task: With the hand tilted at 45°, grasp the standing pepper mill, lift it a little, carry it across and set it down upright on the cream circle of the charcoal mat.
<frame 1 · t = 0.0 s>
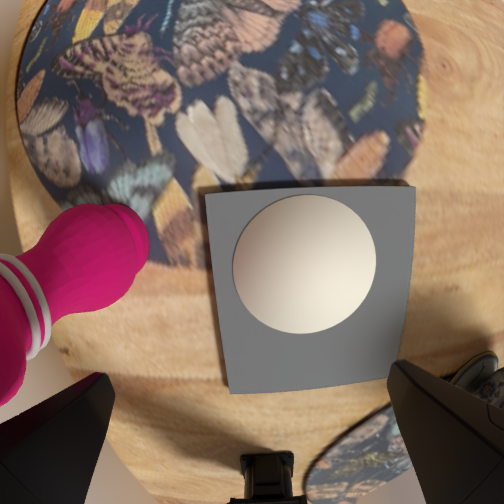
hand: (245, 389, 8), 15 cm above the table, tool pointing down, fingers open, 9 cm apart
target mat: (317, 300, 23), on the table
pepper mill: (116, 240, 22), on the table
apothecary jar: (469, 381, 27), on the table
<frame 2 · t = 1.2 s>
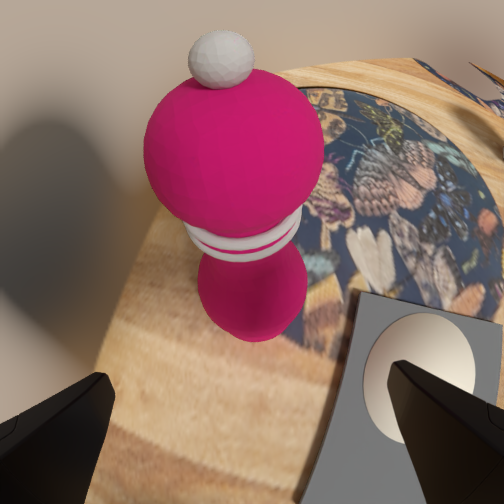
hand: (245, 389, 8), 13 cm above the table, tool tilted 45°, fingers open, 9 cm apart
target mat: (423, 415, 17), on the table
pepper mill: (255, 305, 23), on the table
when the fingers open (11 cm above the table, at t = 7.1 s): pepper mill stays where it is, resting on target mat.
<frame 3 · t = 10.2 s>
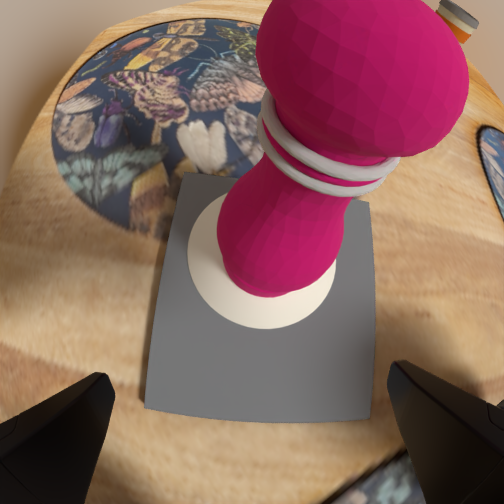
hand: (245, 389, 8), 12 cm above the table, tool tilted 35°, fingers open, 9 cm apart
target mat: (273, 296, 21), on the table
pepper mill: (265, 256, 21), point 1 cm above the table, touching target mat
reusable coffee cup: (440, 43, 52), on the table
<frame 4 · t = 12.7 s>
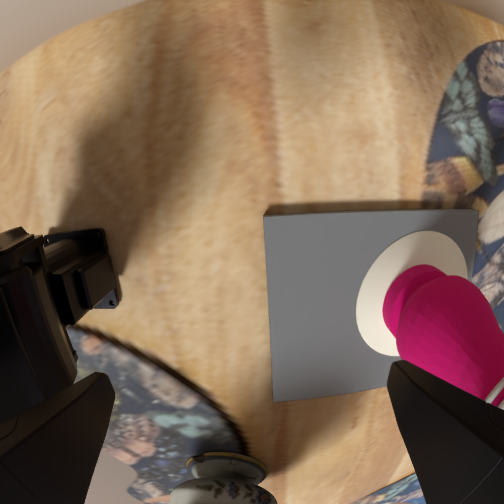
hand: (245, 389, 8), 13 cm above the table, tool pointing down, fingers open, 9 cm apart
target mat: (380, 310, 21), on the table
pepper mill: (414, 299, 20), point 1 cm above the table, touching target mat
apothecary jar: (226, 469, 28), on the table
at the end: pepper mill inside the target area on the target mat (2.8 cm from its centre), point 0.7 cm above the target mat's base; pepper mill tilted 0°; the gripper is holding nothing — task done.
